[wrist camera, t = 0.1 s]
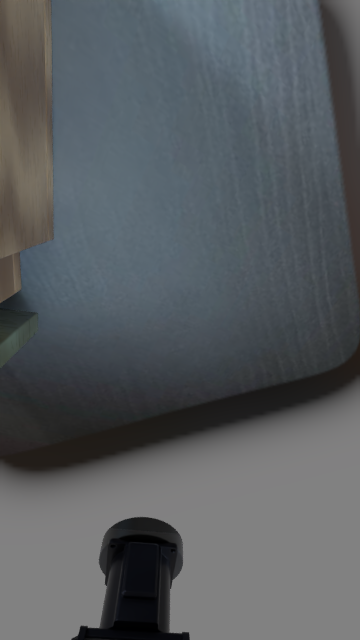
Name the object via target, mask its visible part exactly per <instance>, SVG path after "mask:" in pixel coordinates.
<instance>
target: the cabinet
mask: <svg viewBox="0 0 360 640" xmlns="http://www.w3.org/2000/svg"><path fill="white" fill-rule="evenodd" d="M53 239H54V234H53V135H52V36H51V0H0V259H1V258H4V257H6V256H9V255H12V254H14V253H17V252H20V251H23V250H25V249H28V248H31V247H33V246H36V245H39V244H42V243H44V242H47V241H50V240H53Z"/></svg>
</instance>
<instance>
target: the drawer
mask: <svg viewBox="0 0 360 640" xmlns="http://www.w3.org/2000/svg"><path fill="white" fill-rule="evenodd" d="M20 290H21V269H20V252H17V253H14V254H12V255H9V256H6V257H4V258H1V259H0V303H1V302H3V301H4V300H6V299H7V298H9V297H11V296H12V295H14V294H15V293H17V292H18V291H20ZM37 332H38V313H37V312H29V311H21V310H12V309H4V308H0V368H1V367H2V366H3V365H4V364H5V363H6V362H7V361H8V360H9V359H10V358H11V357H12V356H13V355H14V354H15V353H16V352H17V351H18V350H19V349H20V348H21V347H22V346H23V345H24V344H25V343H26V342H27V341H28V340H30V339H31V338H32V337H33V336H34V335H35V334H36V333H37Z"/></svg>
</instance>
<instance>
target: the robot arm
mask: <svg viewBox="0 0 360 640" xmlns="http://www.w3.org/2000/svg"><path fill="white" fill-rule="evenodd" d="M177 554H178V545H177V544H176V543H169V542H156V541H143V540H131V539H118V538H112V539H110V540H109V542H108V550H107V564H106V578H105V585H106V586H107V589H106V595H105V600H104V606H103V611H102V617H101V623H100V628H88V626H81V627H80V631H79V635H78V636H76V637H75V638H72V640H190V639H189V632H182V634H181V633H169V624H170V623H169V622H170V621H169V620H170V589H171V585H172V580H173V575H174V570H175V565H176V559H177Z"/></svg>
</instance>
